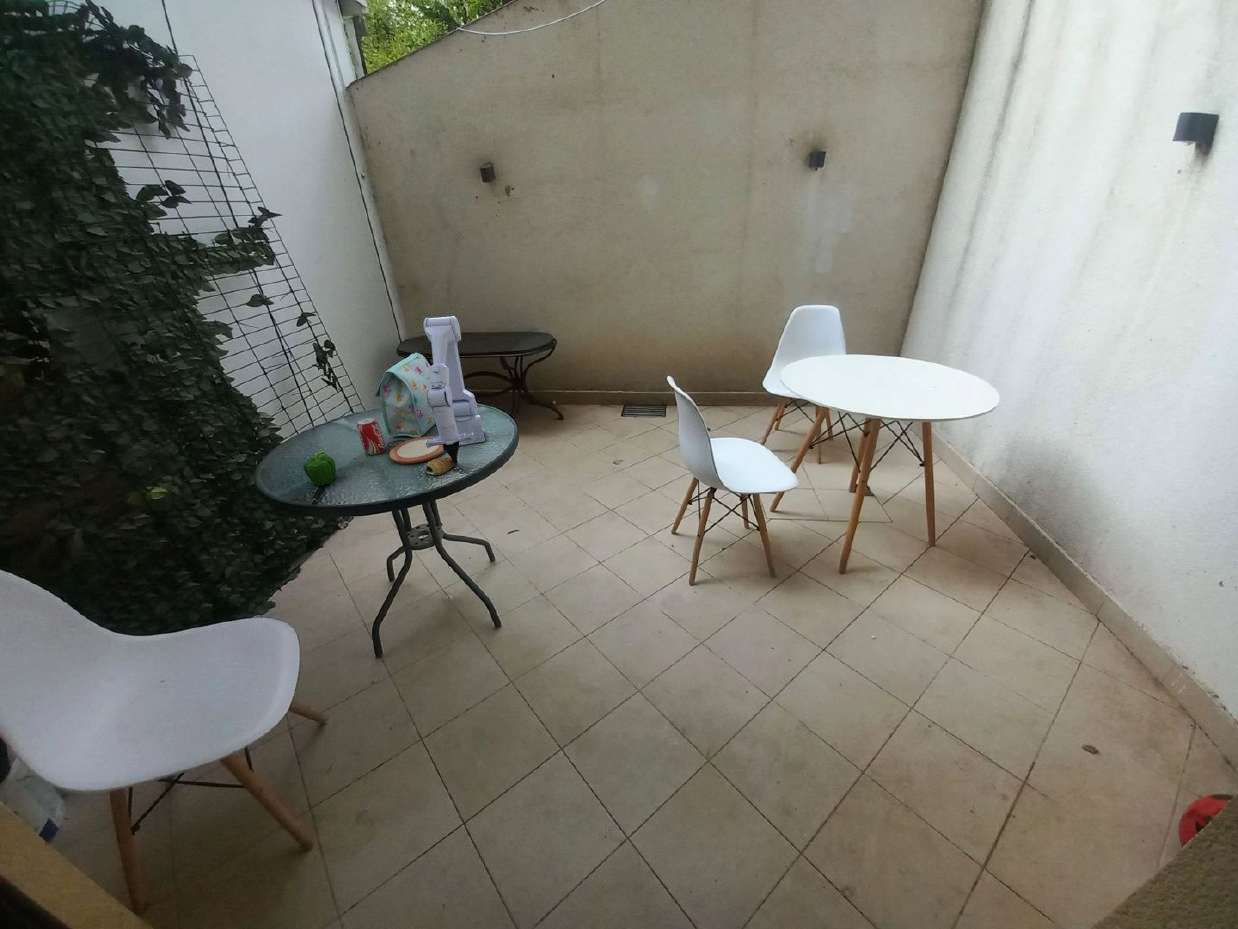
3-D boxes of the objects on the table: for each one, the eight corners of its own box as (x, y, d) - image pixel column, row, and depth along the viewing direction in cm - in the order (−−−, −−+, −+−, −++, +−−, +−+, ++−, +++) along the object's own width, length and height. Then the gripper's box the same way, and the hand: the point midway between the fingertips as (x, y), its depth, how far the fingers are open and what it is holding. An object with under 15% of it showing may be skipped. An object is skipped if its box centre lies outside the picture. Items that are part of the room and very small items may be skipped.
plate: (447, 436, 177) (446, 432, 177) (447, 458, 161) (446, 454, 161) (393, 445, 173) (392, 441, 172) (387, 469, 157) (386, 465, 156)
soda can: (379, 456, 166) (368, 424, 160) (361, 455, 167) (350, 424, 161) (390, 447, 172) (381, 416, 166) (373, 446, 173) (362, 416, 167)
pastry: (446, 460, 160) (444, 450, 158) (460, 465, 157) (457, 455, 155) (423, 473, 154) (420, 462, 152) (436, 478, 150) (434, 467, 148)
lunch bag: (415, 414, 198) (397, 350, 185) (452, 415, 196) (437, 350, 183) (384, 439, 178) (361, 369, 165) (425, 439, 176) (405, 369, 163)
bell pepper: (309, 490, 147) (296, 462, 142) (312, 478, 154) (300, 451, 149) (339, 484, 150) (328, 456, 145) (341, 472, 157) (330, 445, 152)
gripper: (421, 433, 144) (432, 472, 150) (470, 425, 147) (479, 463, 154) (422, 425, 150) (432, 462, 156) (469, 417, 153) (478, 454, 160)
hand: (455, 462), depth 156 cm, fingers closed
